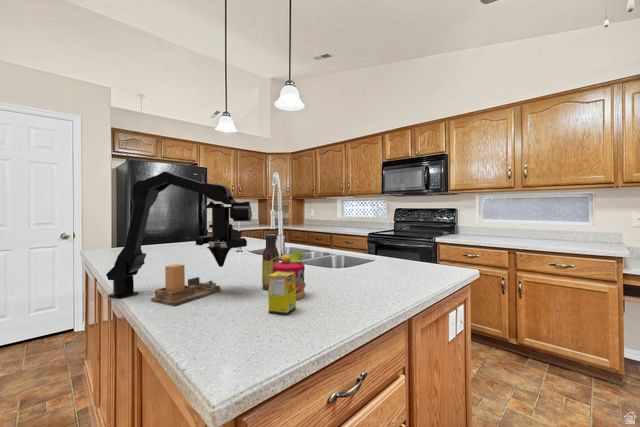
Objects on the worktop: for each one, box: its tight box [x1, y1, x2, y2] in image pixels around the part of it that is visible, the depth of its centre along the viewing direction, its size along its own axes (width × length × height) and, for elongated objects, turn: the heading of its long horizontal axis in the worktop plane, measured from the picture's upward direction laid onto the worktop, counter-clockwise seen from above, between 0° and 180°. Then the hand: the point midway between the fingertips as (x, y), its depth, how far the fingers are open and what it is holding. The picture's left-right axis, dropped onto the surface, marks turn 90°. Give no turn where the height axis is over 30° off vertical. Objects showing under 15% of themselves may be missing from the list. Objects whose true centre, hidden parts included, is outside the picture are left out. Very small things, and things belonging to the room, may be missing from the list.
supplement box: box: [267, 271, 297, 316], centre depth 87 cm, size 6×6×11 cm
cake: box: [274, 250, 306, 301], centre depth 101 cm, size 10×11×15 cm
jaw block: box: [164, 263, 186, 292], centre depth 99 cm, size 4×4×10 cm
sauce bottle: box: [261, 233, 280, 290], centre depth 112 cm, size 7×6×20 cm
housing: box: [150, 276, 222, 307], centre depth 103 cm, size 12×18×4 cm, turn 153°
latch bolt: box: [201, 280, 217, 290], centre depth 107 cm, size 4×2×3 cm, turn 63°
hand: (221, 266), depth 104 cm, fingers closed
